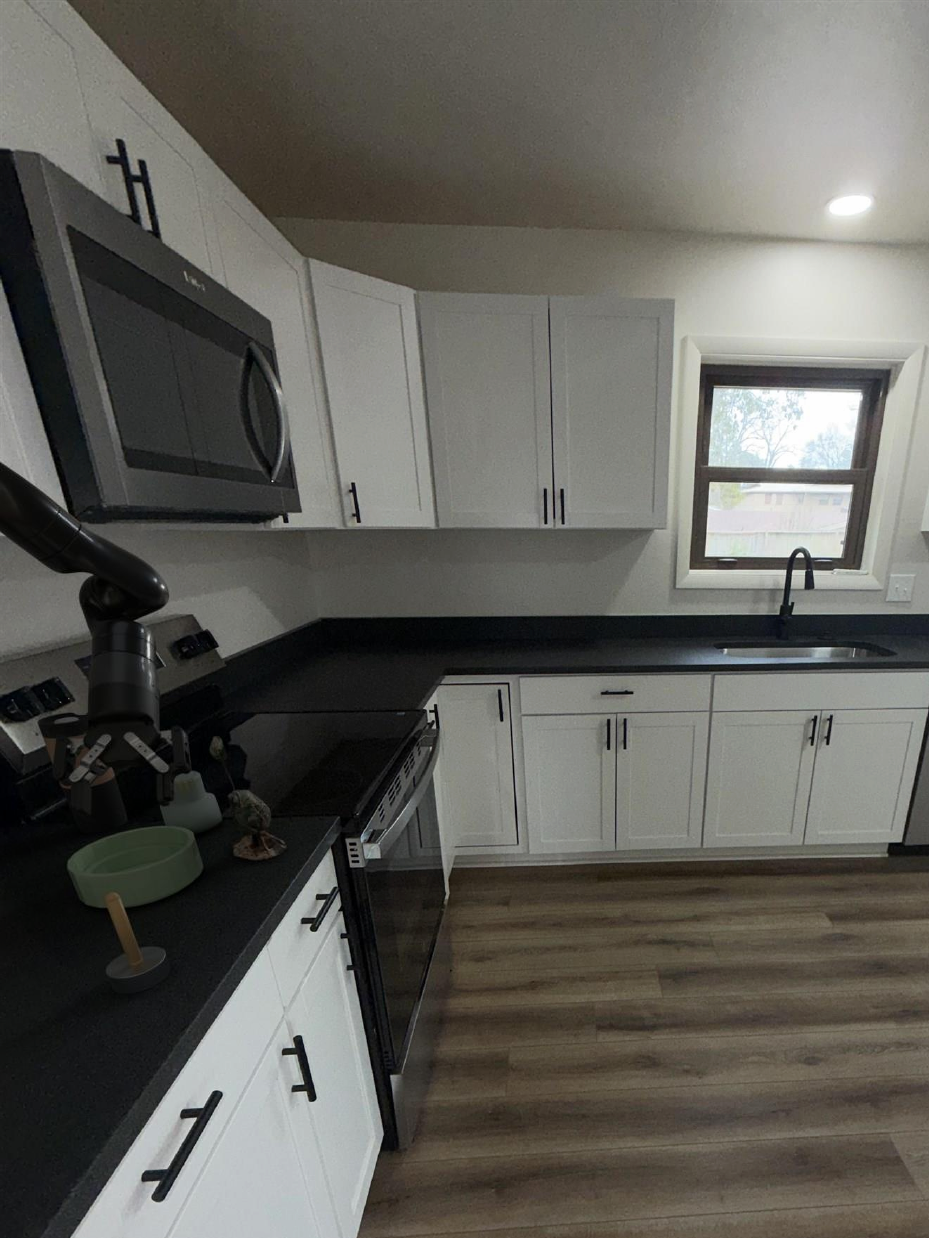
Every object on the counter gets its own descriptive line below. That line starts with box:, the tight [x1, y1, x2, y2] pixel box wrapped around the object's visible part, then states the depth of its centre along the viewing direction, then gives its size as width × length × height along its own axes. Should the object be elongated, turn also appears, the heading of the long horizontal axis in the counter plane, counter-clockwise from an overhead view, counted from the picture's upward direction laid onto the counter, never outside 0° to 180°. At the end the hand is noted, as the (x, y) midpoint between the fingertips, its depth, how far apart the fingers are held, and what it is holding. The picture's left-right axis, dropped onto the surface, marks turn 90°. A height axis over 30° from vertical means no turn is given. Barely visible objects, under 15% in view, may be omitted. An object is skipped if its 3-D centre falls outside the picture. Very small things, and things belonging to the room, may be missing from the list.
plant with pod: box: [209, 735, 288, 862], centre depth 103 cm, size 8×11×20 cm
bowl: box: [66, 825, 204, 909], centre depth 97 cm, size 16×16×6 cm
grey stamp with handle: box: [105, 893, 172, 995], centre depth 76 cm, size 6×6×12 cm
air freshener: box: [159, 770, 223, 835], centre depth 113 cm, size 11×8×10 cm
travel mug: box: [37, 711, 129, 834], centre depth 113 cm, size 8×8×20 cm
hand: (124, 808), depth 80 cm, fingers open, 8 cm apart
